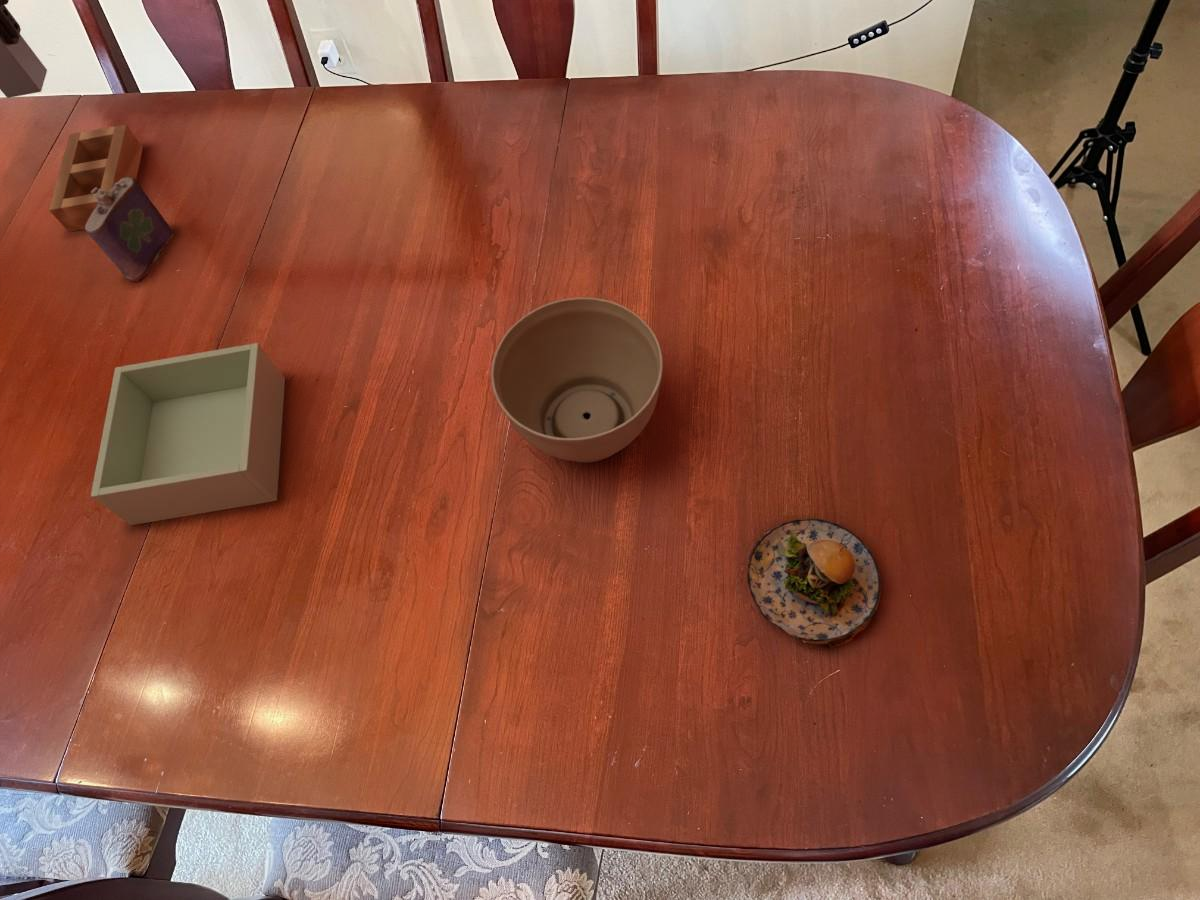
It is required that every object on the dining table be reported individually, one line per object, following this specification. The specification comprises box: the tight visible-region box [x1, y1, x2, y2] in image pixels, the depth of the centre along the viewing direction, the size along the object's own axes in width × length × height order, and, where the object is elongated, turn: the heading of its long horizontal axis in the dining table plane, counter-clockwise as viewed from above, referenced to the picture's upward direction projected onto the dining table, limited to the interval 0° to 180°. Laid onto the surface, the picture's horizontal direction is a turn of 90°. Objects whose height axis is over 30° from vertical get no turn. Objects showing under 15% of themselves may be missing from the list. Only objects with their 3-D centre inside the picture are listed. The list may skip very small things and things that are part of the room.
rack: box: [48, 123, 144, 233], centre depth 113 cm, size 8×14×4 cm, turn 8°
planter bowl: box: [490, 296, 664, 463], centre depth 84 cm, size 16×16×11 cm
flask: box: [84, 177, 174, 283], centre depth 103 cm, size 9×3×11 cm, turn 163°
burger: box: [746, 517, 882, 649], centre depth 74 cm, size 12×12×8 cm
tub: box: [90, 342, 286, 526], centre depth 89 cm, size 16×16×7 cm
